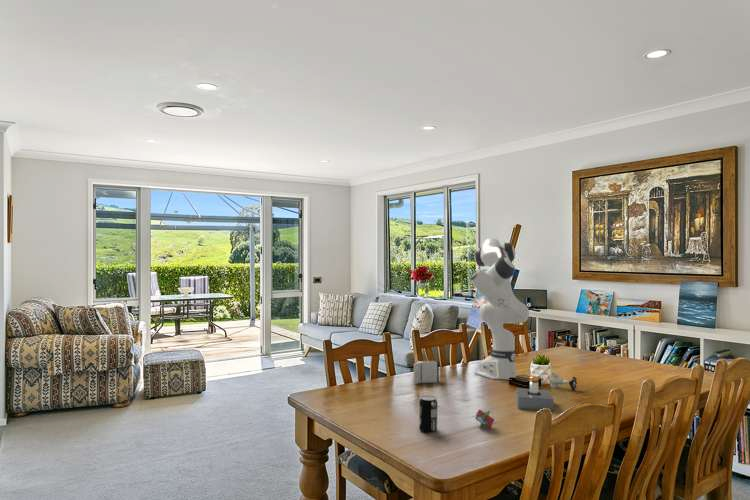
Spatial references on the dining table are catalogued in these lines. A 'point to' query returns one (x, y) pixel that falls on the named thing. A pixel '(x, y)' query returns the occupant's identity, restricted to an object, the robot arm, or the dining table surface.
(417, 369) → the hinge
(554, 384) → the valve
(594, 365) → the dining table surface
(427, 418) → the beverage can
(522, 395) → the socket block
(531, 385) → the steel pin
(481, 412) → the geometric puzzle
